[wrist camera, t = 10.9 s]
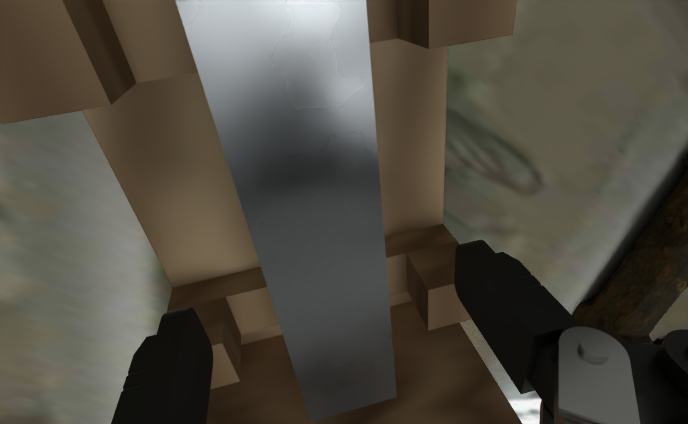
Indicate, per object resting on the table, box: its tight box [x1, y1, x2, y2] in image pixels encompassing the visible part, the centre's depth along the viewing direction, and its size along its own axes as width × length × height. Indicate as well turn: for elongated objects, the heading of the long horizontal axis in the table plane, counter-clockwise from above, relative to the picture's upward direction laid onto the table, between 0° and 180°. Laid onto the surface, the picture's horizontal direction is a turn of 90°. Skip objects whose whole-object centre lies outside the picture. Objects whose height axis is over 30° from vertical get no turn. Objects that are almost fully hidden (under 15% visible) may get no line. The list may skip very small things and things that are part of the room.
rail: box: [175, 0, 397, 422], centre depth 15 cm, size 4×17×6 cm, turn 7°
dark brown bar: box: [572, 157, 688, 344], centre depth 28 cm, size 23×5×6 cm, turn 164°
